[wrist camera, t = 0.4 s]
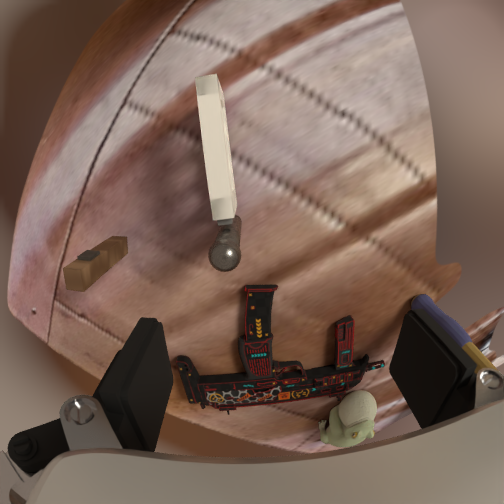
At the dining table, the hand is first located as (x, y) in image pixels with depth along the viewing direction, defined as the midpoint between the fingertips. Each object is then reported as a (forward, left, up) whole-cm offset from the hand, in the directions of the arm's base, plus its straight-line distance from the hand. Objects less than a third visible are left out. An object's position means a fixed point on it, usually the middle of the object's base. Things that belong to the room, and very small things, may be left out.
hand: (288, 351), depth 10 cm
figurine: (+39, +21, -28) cm, 52 cm away
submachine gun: (+21, +6, -29) cm, 36 cm away
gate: (-8, -5, -27) cm, 28 cm away
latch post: (+5, -19, -28) cm, 34 cm away
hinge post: (+1, -3, -28) cm, 28 cm away
